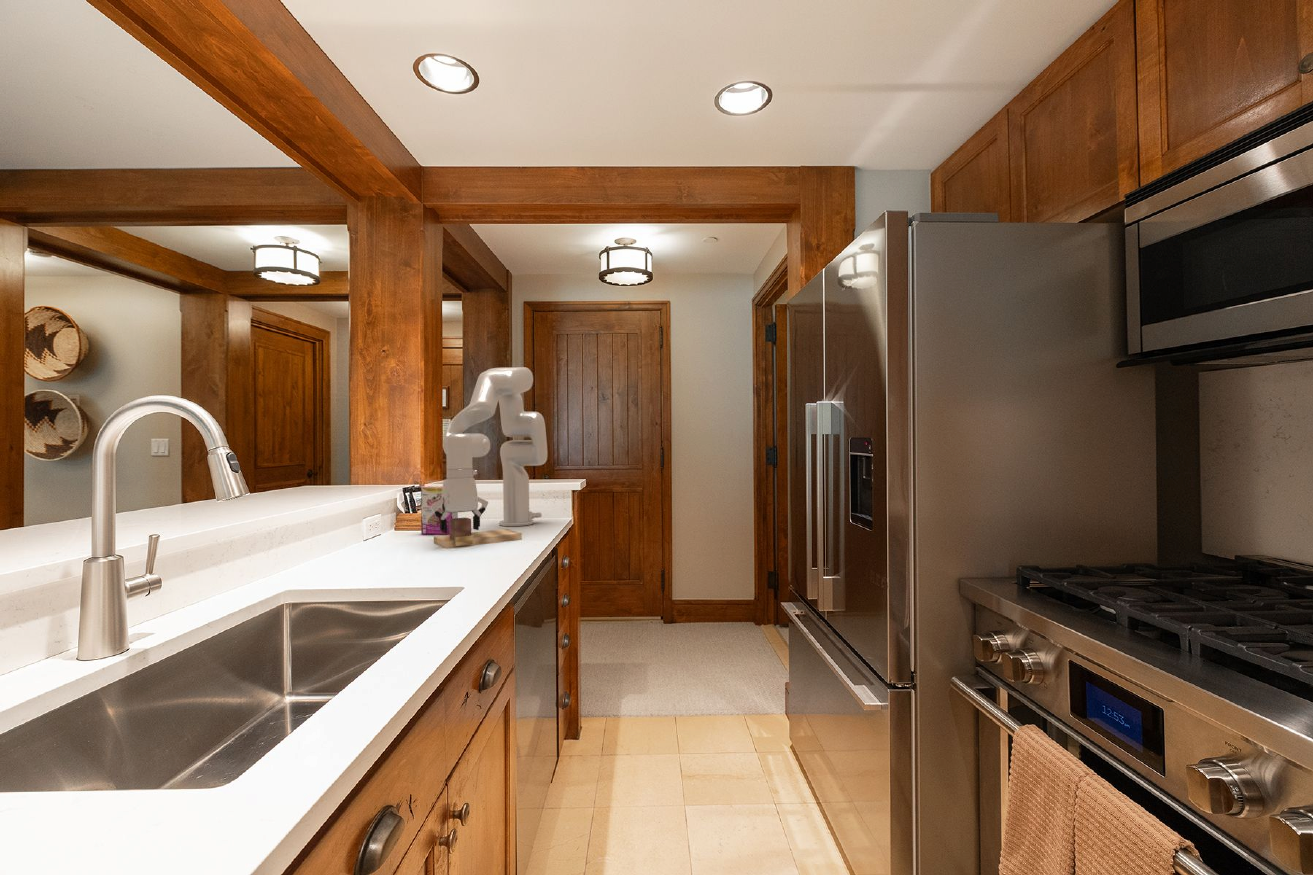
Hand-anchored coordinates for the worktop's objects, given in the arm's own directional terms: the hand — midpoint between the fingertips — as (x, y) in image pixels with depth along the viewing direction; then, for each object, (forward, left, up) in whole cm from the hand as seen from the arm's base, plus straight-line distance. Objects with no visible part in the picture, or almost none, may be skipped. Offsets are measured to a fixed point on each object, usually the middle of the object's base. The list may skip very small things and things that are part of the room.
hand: (460, 530), depth 185 cm
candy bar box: (-2, -27, -5) cm, 27 cm away
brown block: (0, +1, -4) cm, 4 cm away
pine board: (-7, -4, -4) cm, 9 cm away
